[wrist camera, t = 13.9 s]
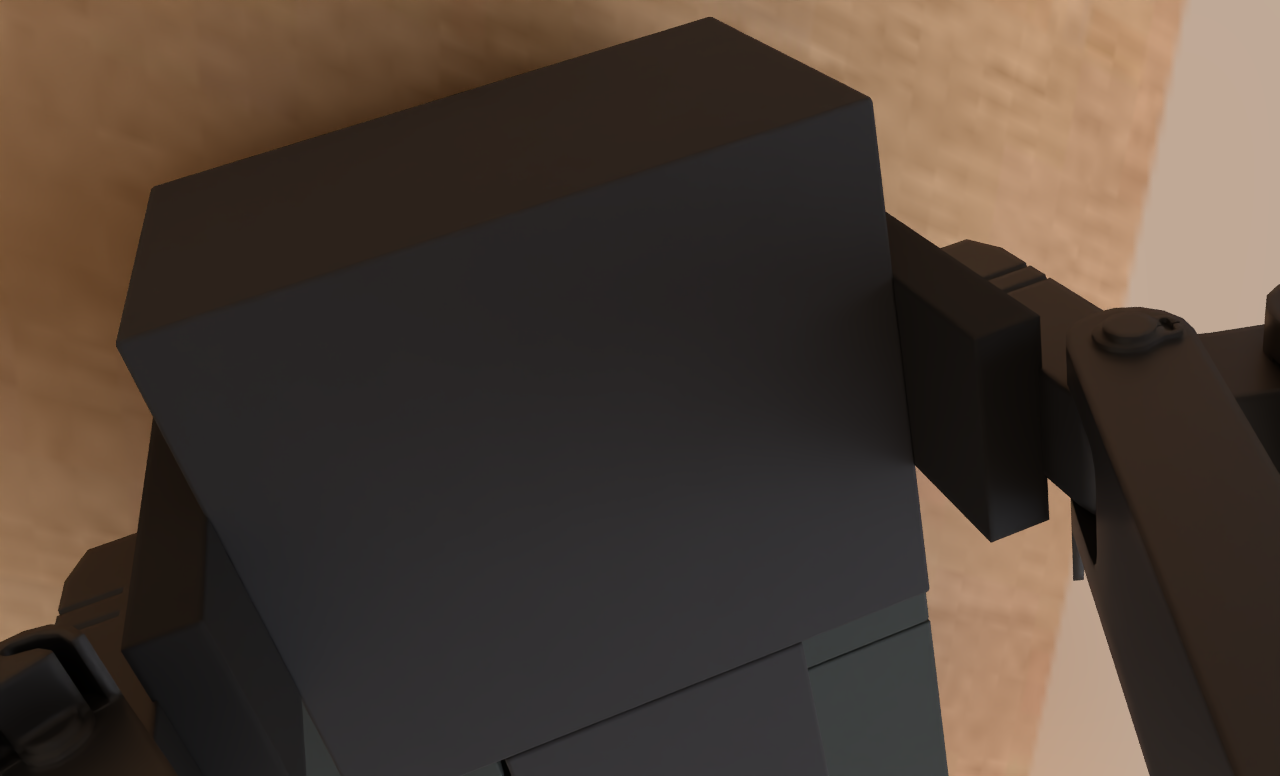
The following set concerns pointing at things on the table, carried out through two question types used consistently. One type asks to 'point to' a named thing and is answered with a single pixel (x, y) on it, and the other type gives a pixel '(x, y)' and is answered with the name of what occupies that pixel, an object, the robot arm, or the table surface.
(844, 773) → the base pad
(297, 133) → the table surface
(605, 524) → the pad
